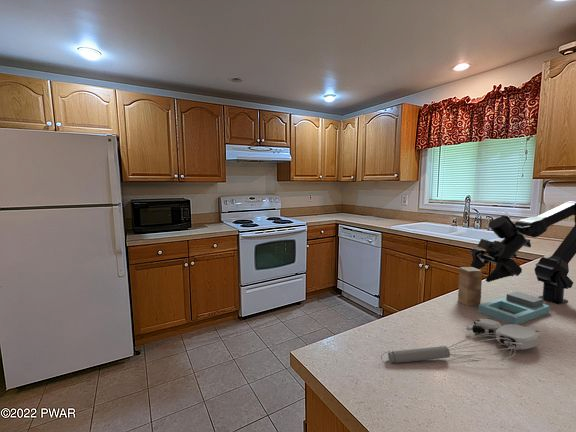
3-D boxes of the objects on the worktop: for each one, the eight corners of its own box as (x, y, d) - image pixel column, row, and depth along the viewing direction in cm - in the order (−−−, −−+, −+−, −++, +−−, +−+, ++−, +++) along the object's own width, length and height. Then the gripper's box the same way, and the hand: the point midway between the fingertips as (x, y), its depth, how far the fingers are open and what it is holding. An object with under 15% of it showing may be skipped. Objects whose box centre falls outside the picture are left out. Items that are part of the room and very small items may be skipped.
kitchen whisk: (376, 355, 73) (377, 332, 73) (501, 351, 75) (503, 328, 74) (385, 371, 67) (386, 346, 67) (521, 365, 69) (523, 341, 68)
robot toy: (463, 337, 83) (525, 360, 70) (462, 322, 83) (525, 342, 70) (485, 326, 89) (546, 346, 76) (484, 312, 89) (546, 329, 76)
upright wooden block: (470, 300, 107) (472, 266, 105) (480, 305, 102) (482, 270, 100) (458, 300, 106) (459, 267, 105) (466, 306, 102) (468, 271, 100)
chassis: (512, 301, 105) (513, 289, 105) (549, 312, 95) (550, 300, 95) (478, 311, 97) (479, 299, 97) (514, 325, 87) (515, 311, 87)
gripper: (476, 228, 111) (447, 255, 112) (516, 236, 92) (481, 269, 93) (494, 247, 112) (465, 274, 113) (537, 259, 93) (502, 292, 94)
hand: (477, 276), depth 103 cm, fingers open, 9 cm apart
